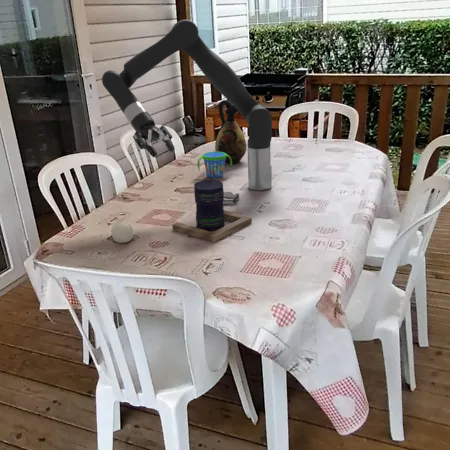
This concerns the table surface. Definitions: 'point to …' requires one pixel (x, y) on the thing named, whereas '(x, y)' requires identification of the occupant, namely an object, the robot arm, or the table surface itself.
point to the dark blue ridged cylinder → (209, 205)
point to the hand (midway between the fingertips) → (164, 153)
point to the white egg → (122, 232)
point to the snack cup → (214, 163)
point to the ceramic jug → (230, 135)
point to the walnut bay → (214, 236)
